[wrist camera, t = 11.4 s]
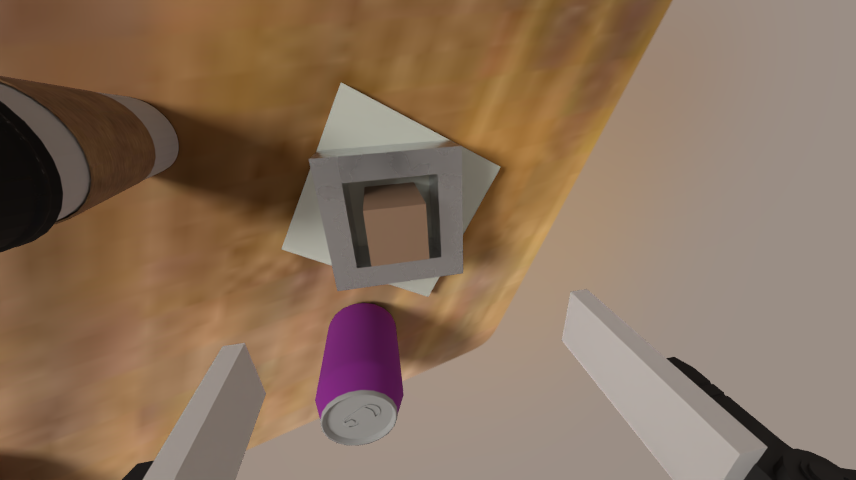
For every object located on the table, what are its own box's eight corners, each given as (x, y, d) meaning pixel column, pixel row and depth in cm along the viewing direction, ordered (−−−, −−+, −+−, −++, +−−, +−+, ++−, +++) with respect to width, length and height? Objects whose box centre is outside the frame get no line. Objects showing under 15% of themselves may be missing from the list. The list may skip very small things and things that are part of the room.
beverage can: (354, 360, 38) (347, 463, 27) (314, 320, 34) (289, 419, 24) (407, 330, 37) (422, 422, 26) (372, 287, 34) (373, 372, 23)
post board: (342, 83, 25) (330, 74, 18) (496, 164, 31) (536, 184, 23) (284, 244, 30) (256, 289, 23) (426, 290, 35) (441, 340, 28)
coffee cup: (211, 118, 25) (21, 136, 11) (178, 205, 27) (-13, 305, 14) (85, 52, 22) (-376, -33, 8) (60, 155, 24) (-337, 219, 11)
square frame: (318, 150, 26) (308, 158, 22) (448, 139, 28) (461, 145, 23) (341, 266, 31) (337, 291, 27) (451, 252, 32) (463, 273, 28)
